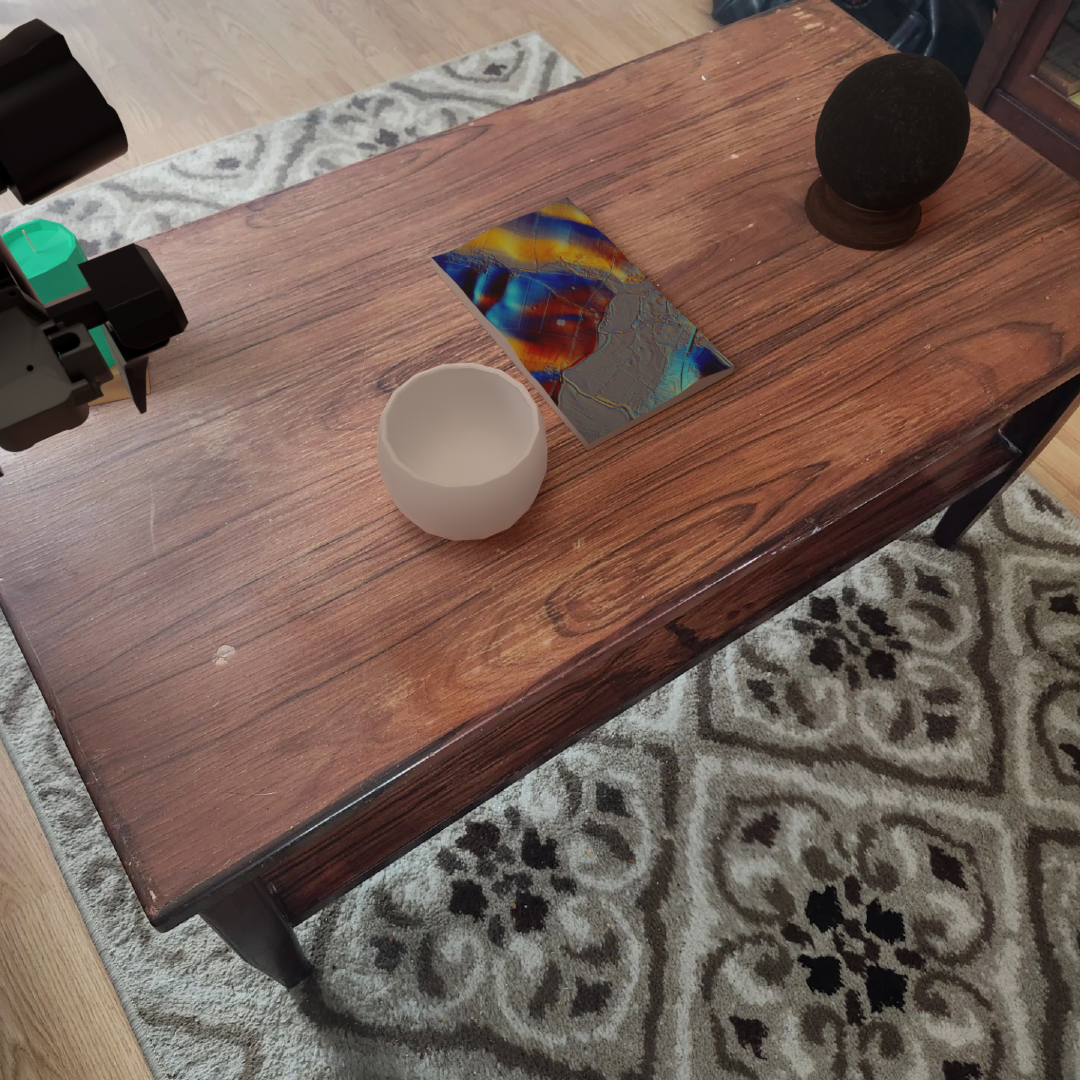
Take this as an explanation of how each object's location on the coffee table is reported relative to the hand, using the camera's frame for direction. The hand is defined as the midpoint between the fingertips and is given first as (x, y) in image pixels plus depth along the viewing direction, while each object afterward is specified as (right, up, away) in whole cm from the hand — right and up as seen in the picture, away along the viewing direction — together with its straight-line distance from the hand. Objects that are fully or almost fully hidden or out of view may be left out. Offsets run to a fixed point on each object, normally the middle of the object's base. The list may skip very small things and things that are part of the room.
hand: (72, 440), depth 58 cm
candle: (-7, +9, +18) cm, 21 cm away
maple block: (-7, +8, +20) cm, 23 cm away
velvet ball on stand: (+62, +26, +32) cm, 74 cm away
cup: (+24, -3, +14) cm, 28 cm away
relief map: (+33, +13, +24) cm, 43 cm away
